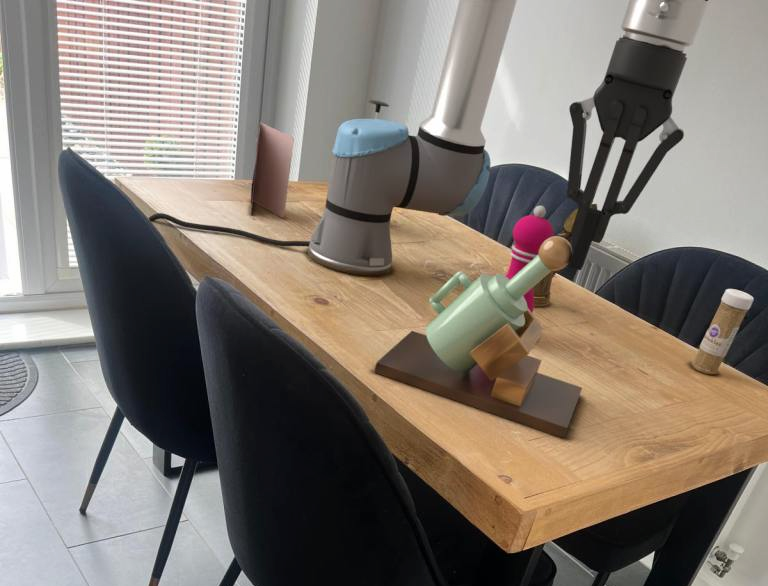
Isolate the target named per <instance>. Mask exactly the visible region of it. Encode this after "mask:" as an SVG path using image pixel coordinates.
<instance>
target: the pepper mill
mask: <svg viewBox="0 0 768 586" xmlns="http://www.w3.org/2000/svg"><path fill="white" fill-rule="evenodd" d="M546 214H547V210H546V208H545V206H543V205H537V206H535V208H534V209H533V214H529V215H525V216H523V217H521V218H519V220H518V221H517V222H516V224H515V225H514V227H513V231H512V238H513V241H514V244H513V245H512V246H511V250H510V252H509V255H510V256H511V258H510V259H511V260H510V265H509V268H508V270H507V273H506V274H505V276H506V277H507V278H508V279H509V280H510V279H511V278H513V277H514V276H515V275H516V274H517V273H518V272H519V271H520V270H522V269H523V268H524V267H525V266H526V265H527V264H528V263H529V262H530V261H532V260H533V259H534V258H535V257H536V256H537V255H538V253H539V249H540V246H541V245H542V243H543V242H544V241H545V240H546V239H548V238H550V237H553V236H554V228H553V226H552V224H551V222H549V220H547V218H545V216H546ZM523 297H524V298H525V300H526V303H527V306H528V308H529V310H530V311H531V312H532V314H534V313H533V312H534V308H535V306H534V296H533V288H532V289H530V290H529V291H528V292H527V293H526V294H525V295H524V296H523Z"/></svg>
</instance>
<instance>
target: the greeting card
mask: <svg viewBox="0 0 768 586" xmlns="http://www.w3.org/2000/svg"><path fill="white" fill-rule="evenodd" d="M254 133H255V135H257V133H256V131H254ZM255 139H256V141H255V142H256V143H257V146H256V153H255V154H256V155H255V163H254V169H253V174H252V181H251V189H250V206H251V210H253V209H252V208H253V202H254V203H256V204H257V205H259V206H261V207H262V208H265V209H266V210H268V211H270V212H272V213H273V214H275V215H276V216H279V217H280V218H282V219H284V218H285V213H286V206H287V198H288V197H287V196H288V189H289V188H288V187H289V182H290V181H289V180H290V173H291V164H292V157H293V149H294V140H295V137H293V136H291V135H289V134H287V133H285V132H283V131H281V130H279V129H276V128H274V127H271V126H269V125H267V124H264V123H262V122H259V130H258V136H255Z"/></svg>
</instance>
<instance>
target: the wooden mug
mask: <svg viewBox="0 0 768 586" xmlns="http://www.w3.org/2000/svg"><path fill="white" fill-rule="evenodd" d="M591 208H593V209H597V210H598V204H597V203H592V205H591ZM577 211H578V207H577V208H576V209H575V210H573V211H572V212H571V213H570V214H569V215H568V216H567V218H566V219H565V220H564V223H563V226H562V231H561V232H560V233H556V234H555V235H554V236H560V237H563V238H565V239H566V240H567V241H568V242H569V243H570V245H571V246H572V243H573V240H572V239H573V237H574V236H573V235H571V229H572V226H573V223H574V220H575V217H576V214H577ZM557 273H558V271H551V272H550V273H549V274H548V275H547V276H545V277H544V278H543V279H542V280H541V281H540V282H538V283H537V284H536V285H535V286H534V287H533V296H534V307H545V306H548V305H549V304H550V300H551V286H552V281H553V278H554V277H555V276H556V274H557Z"/></svg>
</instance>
